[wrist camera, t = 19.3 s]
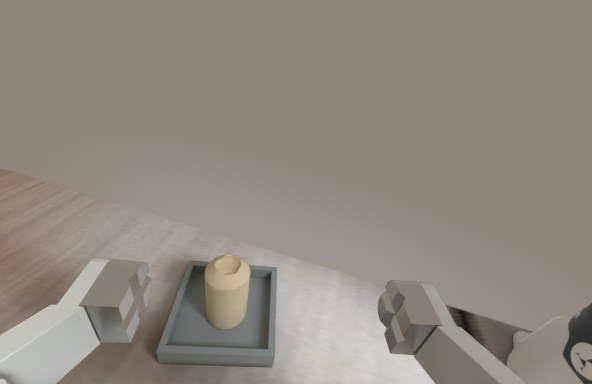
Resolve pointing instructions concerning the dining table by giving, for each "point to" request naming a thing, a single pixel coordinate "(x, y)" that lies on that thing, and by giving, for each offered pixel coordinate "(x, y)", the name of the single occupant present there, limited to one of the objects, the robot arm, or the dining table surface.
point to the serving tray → (221, 342)
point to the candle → (226, 291)
